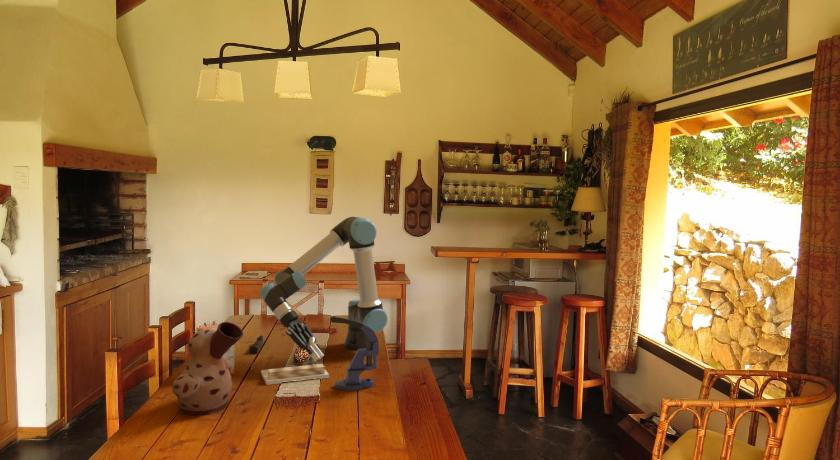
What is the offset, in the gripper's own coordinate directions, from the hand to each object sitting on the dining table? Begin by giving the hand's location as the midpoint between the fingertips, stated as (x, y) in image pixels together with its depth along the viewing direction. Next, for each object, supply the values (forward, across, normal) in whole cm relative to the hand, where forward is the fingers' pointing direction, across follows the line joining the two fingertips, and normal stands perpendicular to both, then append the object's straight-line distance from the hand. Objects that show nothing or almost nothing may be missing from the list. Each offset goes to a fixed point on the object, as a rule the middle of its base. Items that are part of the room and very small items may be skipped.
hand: (319, 358), depth 239 cm
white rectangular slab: (0, +8, -9) cm, 12 cm away
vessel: (-6, +48, -15) cm, 51 cm away
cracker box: (-20, +22, -29) cm, 42 cm away
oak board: (0, +11, -6) cm, 12 cm away
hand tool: (-28, -18, -37) cm, 50 cm away
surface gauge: (+1, +1, -5) cm, 6 cm away
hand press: (+19, +9, +10) cm, 23 cm away
